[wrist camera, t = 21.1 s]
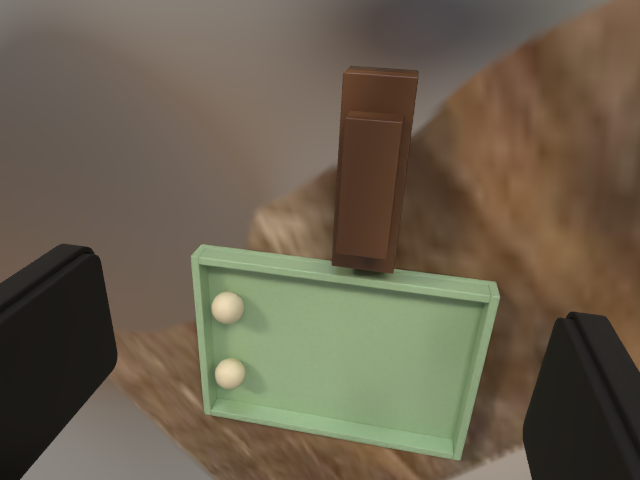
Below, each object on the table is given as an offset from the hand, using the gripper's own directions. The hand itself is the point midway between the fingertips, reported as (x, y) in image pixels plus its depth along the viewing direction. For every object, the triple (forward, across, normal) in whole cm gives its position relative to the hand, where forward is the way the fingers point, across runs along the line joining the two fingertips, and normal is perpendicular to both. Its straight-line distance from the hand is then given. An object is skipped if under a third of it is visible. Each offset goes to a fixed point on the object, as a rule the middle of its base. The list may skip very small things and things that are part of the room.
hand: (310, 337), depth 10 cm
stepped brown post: (+22, 0, +3) cm, 23 cm away
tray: (+22, +2, +18) cm, 29 cm away
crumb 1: (+21, +10, +14) cm, 27 cm away
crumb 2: (+21, +10, +21) cm, 31 cm away
